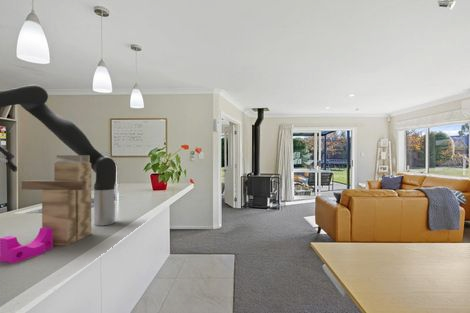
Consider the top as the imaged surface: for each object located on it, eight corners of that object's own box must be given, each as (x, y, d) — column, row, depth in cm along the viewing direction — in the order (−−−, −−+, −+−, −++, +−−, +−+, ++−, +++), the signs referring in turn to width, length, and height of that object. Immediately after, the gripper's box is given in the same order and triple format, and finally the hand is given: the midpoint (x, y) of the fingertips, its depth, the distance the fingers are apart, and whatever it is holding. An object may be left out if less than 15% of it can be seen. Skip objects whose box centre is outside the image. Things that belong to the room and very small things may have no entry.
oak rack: (69, 233, 121) (69, 155, 121) (91, 233, 120) (91, 155, 120) (42, 244, 105) (41, 155, 105) (67, 245, 105) (66, 155, 104)
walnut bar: (28, 188, 110) (28, 180, 110) (86, 188, 108) (86, 180, 108) (21, 189, 107) (21, 181, 107) (80, 190, 105) (80, 181, 105)
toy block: (12, 263, 87) (12, 240, 87) (-1, 261, 89) (-1, 238, 89) (57, 248, 101) (57, 228, 101) (45, 246, 104) (45, 227, 103)
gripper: (-7, 133, 101) (27, 166, 103) (-44, 159, 97) (-9, 192, 99) (-19, 130, 93) (18, 165, 96) (-60, 157, 90) (-21, 193, 92)
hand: (4, 179), depth 98 cm, fingers open, 8 cm apart
